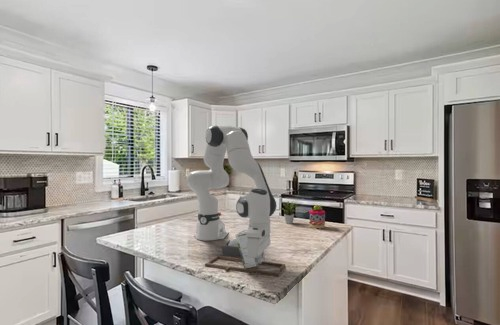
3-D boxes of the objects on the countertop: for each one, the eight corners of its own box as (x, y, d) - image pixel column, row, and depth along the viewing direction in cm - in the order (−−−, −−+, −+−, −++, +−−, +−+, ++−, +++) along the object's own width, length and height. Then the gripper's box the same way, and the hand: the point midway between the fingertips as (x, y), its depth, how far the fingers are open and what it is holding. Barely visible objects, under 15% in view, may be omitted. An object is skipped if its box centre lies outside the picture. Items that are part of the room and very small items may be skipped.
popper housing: (229, 249, 142) (229, 240, 142) (246, 251, 139) (246, 242, 139) (221, 254, 133) (221, 245, 133) (239, 257, 130) (239, 247, 130)
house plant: (293, 226, 190) (293, 202, 190) (275, 224, 197) (275, 200, 197) (302, 222, 202) (302, 200, 202) (284, 220, 209) (284, 198, 209)
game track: (218, 256, 132) (218, 254, 132) (286, 264, 120) (286, 262, 120) (202, 267, 118) (202, 265, 118) (277, 278, 106) (277, 276, 106)
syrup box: (249, 264, 121) (239, 231, 123) (261, 261, 119) (251, 228, 121) (244, 269, 116) (234, 234, 117) (257, 266, 114) (246, 231, 115)
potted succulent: (306, 226, 191) (306, 204, 191) (318, 224, 196) (318, 203, 196) (315, 229, 182) (315, 206, 182) (328, 228, 186) (328, 205, 186)
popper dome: (231, 247, 140) (231, 237, 140) (242, 248, 138) (242, 238, 138) (225, 250, 134) (225, 240, 134) (237, 252, 132) (237, 241, 132)
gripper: (260, 223, 128) (260, 254, 127) (244, 233, 108) (244, 269, 108) (273, 224, 126) (274, 255, 125) (259, 234, 106) (260, 271, 106)
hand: (260, 262), depth 117 cm, fingers closed, pressing on syrup box
